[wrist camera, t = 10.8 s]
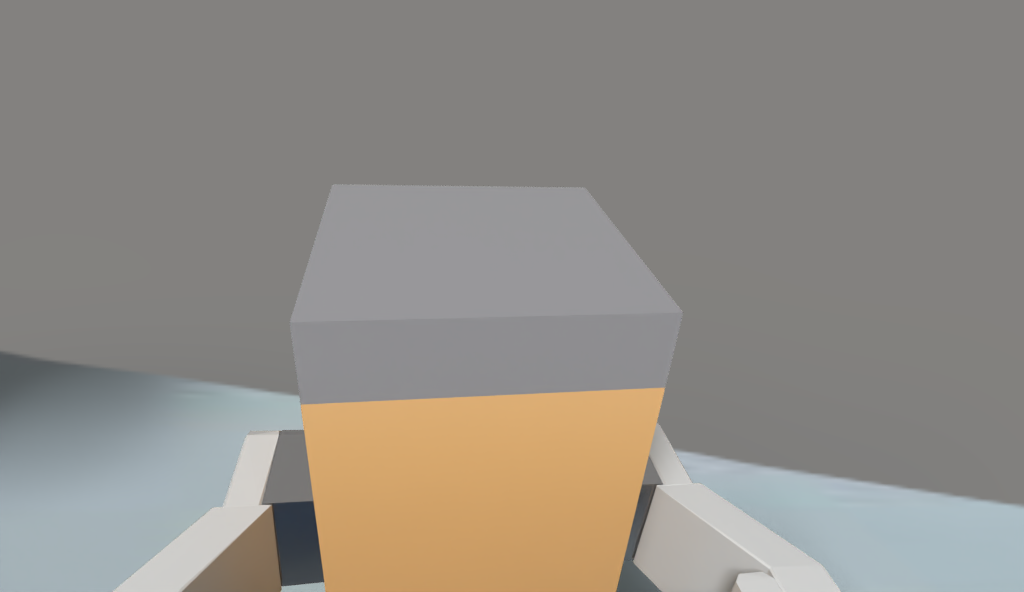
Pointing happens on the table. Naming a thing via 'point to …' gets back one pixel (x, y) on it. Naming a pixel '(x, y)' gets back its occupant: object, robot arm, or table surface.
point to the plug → (477, 388)
